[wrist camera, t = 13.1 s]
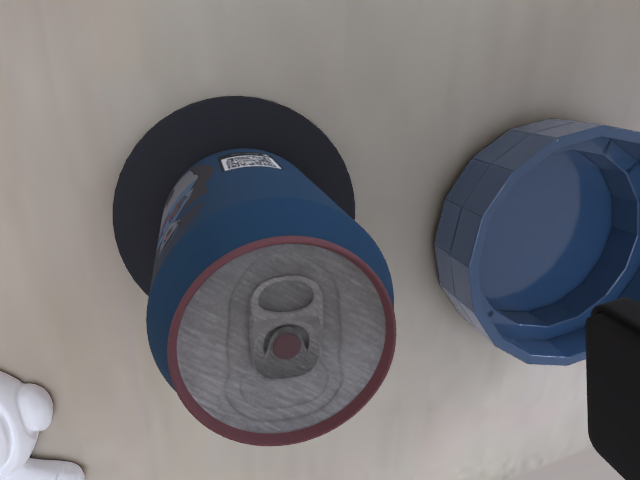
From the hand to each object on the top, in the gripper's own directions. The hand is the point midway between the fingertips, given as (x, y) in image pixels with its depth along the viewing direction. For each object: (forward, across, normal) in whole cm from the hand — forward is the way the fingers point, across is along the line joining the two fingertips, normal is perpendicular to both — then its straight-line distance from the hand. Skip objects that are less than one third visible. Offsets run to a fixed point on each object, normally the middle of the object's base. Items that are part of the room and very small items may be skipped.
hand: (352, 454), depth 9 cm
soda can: (+16, +1, 0) cm, 16 cm away
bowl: (+17, -14, +5) cm, 23 cm away
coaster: (+17, +1, 0) cm, 17 cm away
